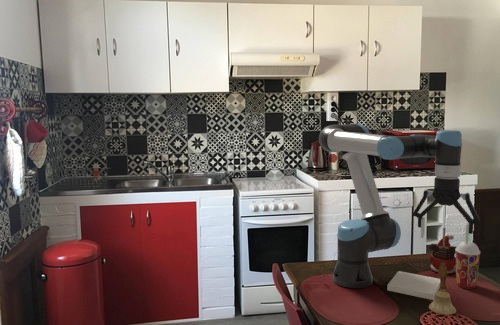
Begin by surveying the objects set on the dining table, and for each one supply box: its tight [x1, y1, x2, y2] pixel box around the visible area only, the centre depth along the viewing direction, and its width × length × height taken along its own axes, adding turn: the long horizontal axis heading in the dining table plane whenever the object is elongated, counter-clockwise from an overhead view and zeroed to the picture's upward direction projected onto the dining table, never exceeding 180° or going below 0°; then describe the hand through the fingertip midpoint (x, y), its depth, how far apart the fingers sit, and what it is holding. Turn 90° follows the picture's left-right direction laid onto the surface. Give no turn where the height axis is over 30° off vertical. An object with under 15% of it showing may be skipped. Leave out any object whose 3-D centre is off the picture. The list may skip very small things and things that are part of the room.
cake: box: [428, 227, 457, 274], centre depth 172 cm, size 11×9×18 cm
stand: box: [386, 270, 440, 301], centre depth 157 cm, size 16×16×2 cm
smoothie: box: [455, 238, 481, 290], centre depth 157 cm, size 8×8×20 cm
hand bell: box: [428, 262, 457, 316], centre depth 139 cm, size 8×8×16 cm
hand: (444, 239), depth 141 cm, fingers open, 13 cm apart
